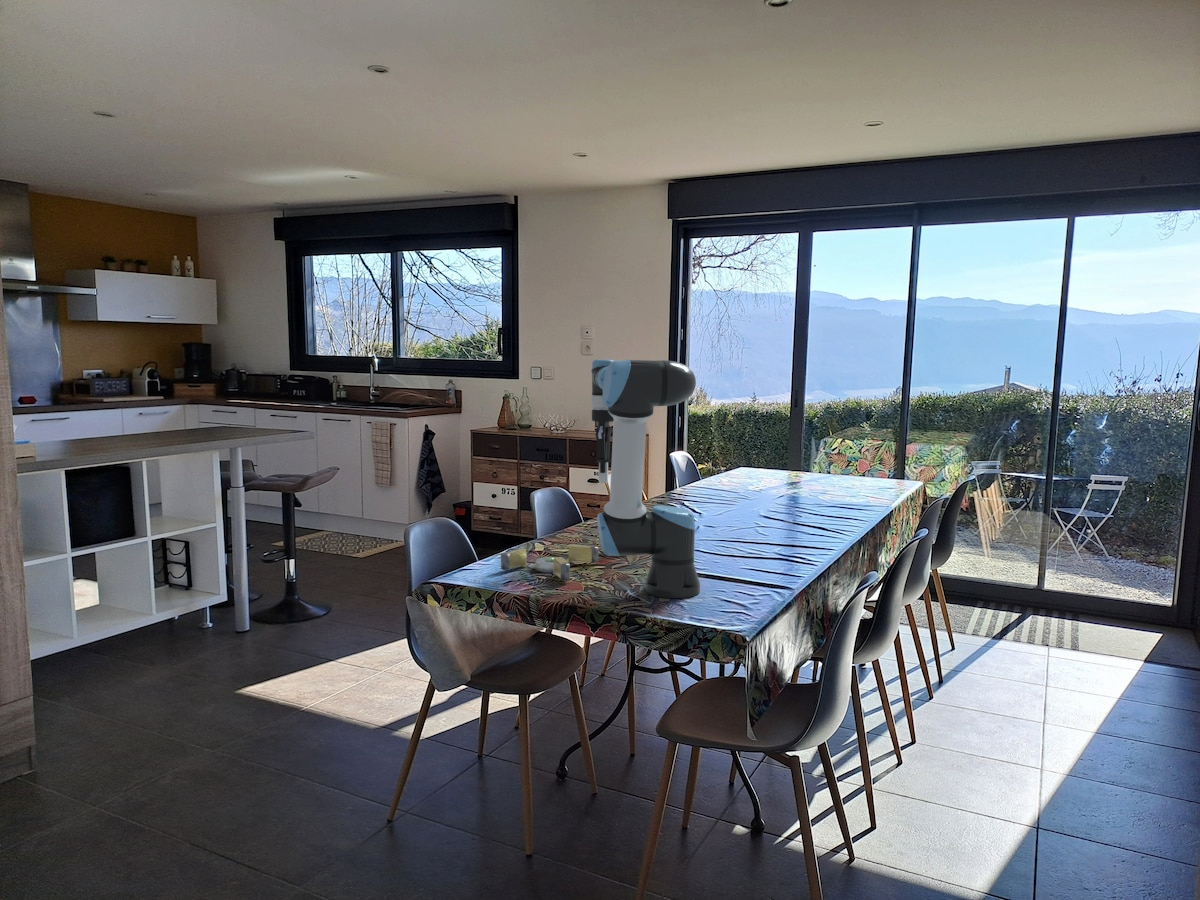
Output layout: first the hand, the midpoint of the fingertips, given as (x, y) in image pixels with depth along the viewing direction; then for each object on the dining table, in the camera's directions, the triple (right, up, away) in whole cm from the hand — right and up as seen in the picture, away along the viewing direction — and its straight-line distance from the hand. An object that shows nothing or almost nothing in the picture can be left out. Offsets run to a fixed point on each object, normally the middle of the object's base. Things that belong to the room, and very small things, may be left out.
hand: (603, 482), depth 254 cm
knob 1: (-12, -27, -23) cm, 38 cm away
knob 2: (-7, -25, -6) cm, 27 cm away
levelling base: (-16, -26, -11) cm, 32 cm away
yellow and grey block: (-27, -26, -13) cm, 39 cm away
